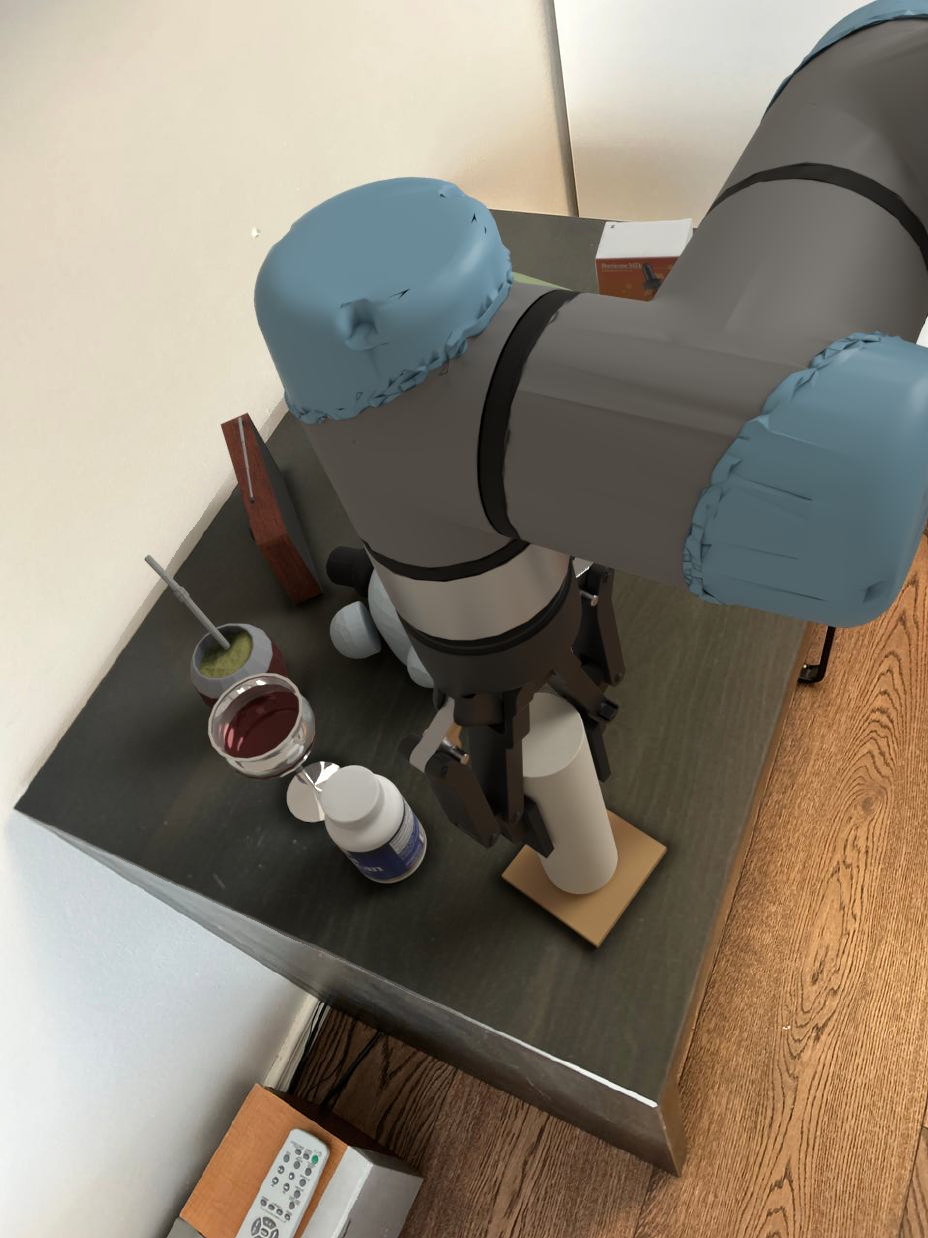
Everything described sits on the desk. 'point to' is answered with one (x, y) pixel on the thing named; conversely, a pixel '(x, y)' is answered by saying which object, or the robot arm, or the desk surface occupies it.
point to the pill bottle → (372, 824)
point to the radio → (270, 510)
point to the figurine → (354, 622)
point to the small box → (639, 256)
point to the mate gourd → (225, 650)
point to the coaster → (602, 906)
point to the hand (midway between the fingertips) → (561, 803)
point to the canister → (567, 796)
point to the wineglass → (271, 738)
